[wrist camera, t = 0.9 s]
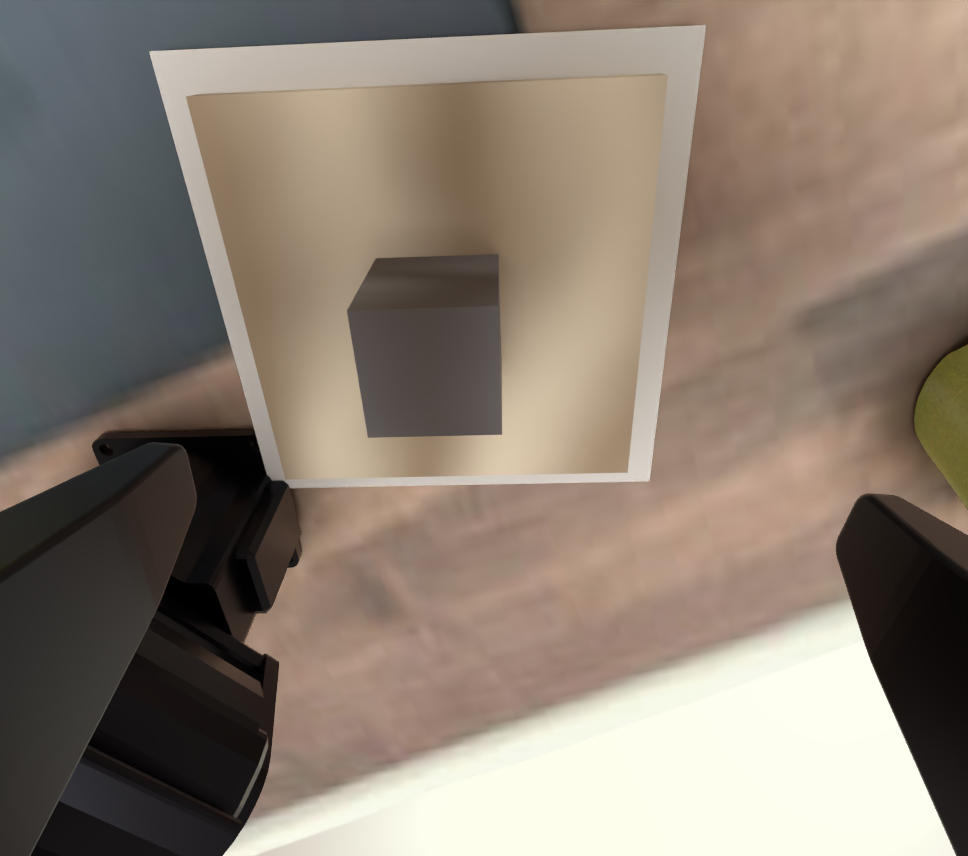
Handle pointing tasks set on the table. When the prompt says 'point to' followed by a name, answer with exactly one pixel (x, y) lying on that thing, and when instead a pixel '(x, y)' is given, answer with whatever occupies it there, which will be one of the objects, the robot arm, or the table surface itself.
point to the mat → (452, 63)
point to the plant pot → (946, 419)
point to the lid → (441, 268)
